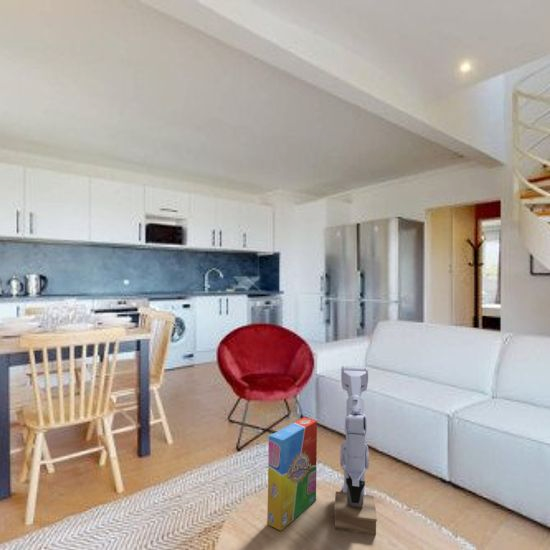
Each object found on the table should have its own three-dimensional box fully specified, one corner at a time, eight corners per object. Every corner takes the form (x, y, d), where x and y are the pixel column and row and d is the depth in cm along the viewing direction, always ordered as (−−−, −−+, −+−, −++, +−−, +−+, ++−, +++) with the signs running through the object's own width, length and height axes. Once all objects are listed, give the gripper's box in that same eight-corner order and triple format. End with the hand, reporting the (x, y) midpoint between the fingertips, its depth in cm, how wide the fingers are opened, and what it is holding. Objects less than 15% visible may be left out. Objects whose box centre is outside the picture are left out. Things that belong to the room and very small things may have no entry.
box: (336, 505, 124) (336, 493, 124) (373, 510, 122) (373, 497, 122) (334, 529, 112) (335, 515, 112) (376, 534, 110) (376, 521, 110)
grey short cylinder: (347, 496, 120) (347, 483, 120) (363, 498, 118) (363, 486, 118) (346, 505, 115) (346, 492, 115) (363, 508, 114) (363, 494, 114)
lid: (335, 493, 124) (335, 491, 124) (373, 497, 122) (374, 495, 122) (334, 515, 112) (334, 513, 112) (376, 521, 110) (376, 519, 110)
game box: (280, 532, 111) (281, 440, 111) (266, 525, 114) (267, 435, 114) (316, 499, 127) (317, 420, 128) (303, 494, 131) (304, 416, 131)
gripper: (342, 442, 125) (342, 483, 125) (342, 463, 110) (341, 509, 110) (364, 444, 123) (364, 485, 123) (366, 465, 109) (366, 512, 109)
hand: (355, 497), depth 117 cm, fingers open, 5 cm apart
